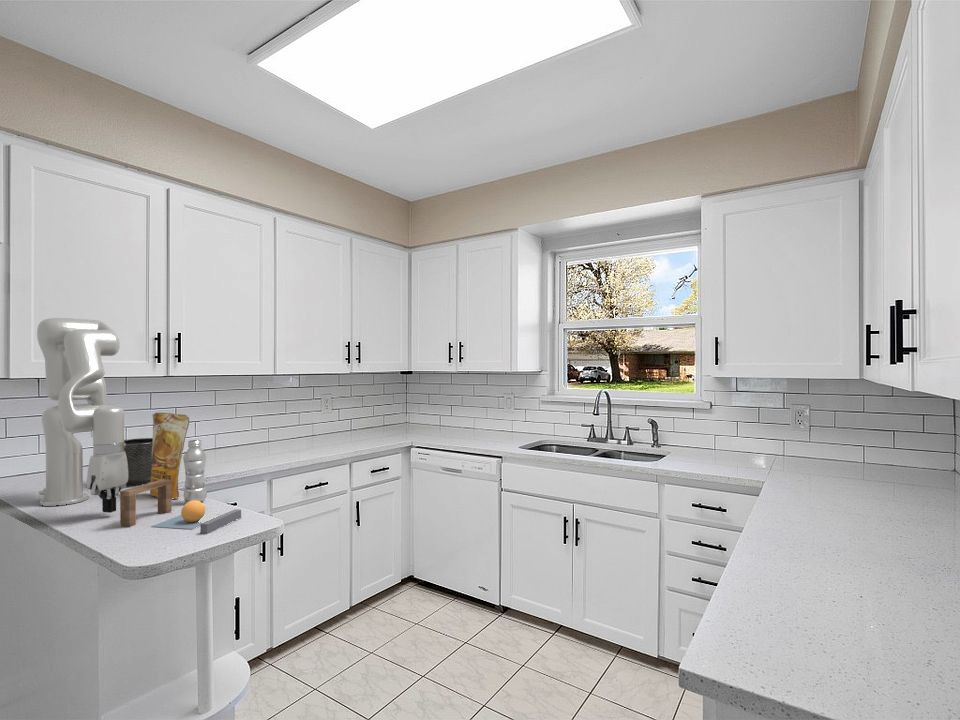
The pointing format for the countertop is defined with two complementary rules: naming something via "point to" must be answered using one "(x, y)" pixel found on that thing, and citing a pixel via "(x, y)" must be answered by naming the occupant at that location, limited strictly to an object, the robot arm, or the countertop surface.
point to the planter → (139, 460)
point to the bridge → (130, 500)
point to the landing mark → (177, 523)
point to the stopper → (219, 521)
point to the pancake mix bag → (168, 448)
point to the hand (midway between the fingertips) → (109, 511)
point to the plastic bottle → (194, 472)
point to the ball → (193, 511)
